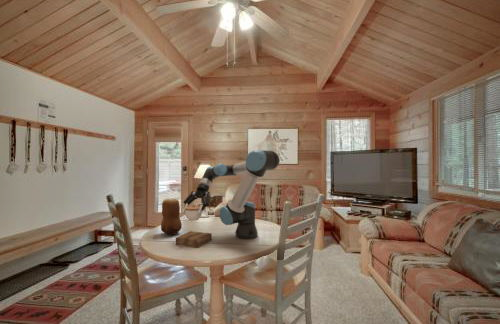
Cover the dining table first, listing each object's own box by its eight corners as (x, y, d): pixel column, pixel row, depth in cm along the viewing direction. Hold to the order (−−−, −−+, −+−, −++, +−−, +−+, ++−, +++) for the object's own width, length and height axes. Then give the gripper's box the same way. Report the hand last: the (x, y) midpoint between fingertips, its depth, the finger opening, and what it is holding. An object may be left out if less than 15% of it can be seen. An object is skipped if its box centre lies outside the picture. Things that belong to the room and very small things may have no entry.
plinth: (211, 239, 167) (211, 233, 167) (198, 247, 152) (198, 240, 152) (190, 237, 173) (190, 230, 173) (175, 244, 158) (175, 237, 158)
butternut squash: (174, 230, 189) (174, 196, 189) (185, 233, 180) (185, 198, 180) (156, 234, 178) (156, 198, 178) (167, 238, 170) (167, 200, 169)
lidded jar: (198, 221, 157) (197, 206, 157) (182, 221, 160) (181, 206, 160) (205, 217, 168) (204, 203, 168) (189, 217, 170) (189, 203, 170)
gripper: (221, 190, 174) (209, 218, 159) (191, 189, 182) (178, 216, 168) (217, 183, 169) (205, 211, 154) (187, 182, 177) (173, 209, 163)
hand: (191, 213), depth 161 cm, fingers closed on lidded jar, 11 cm apart
